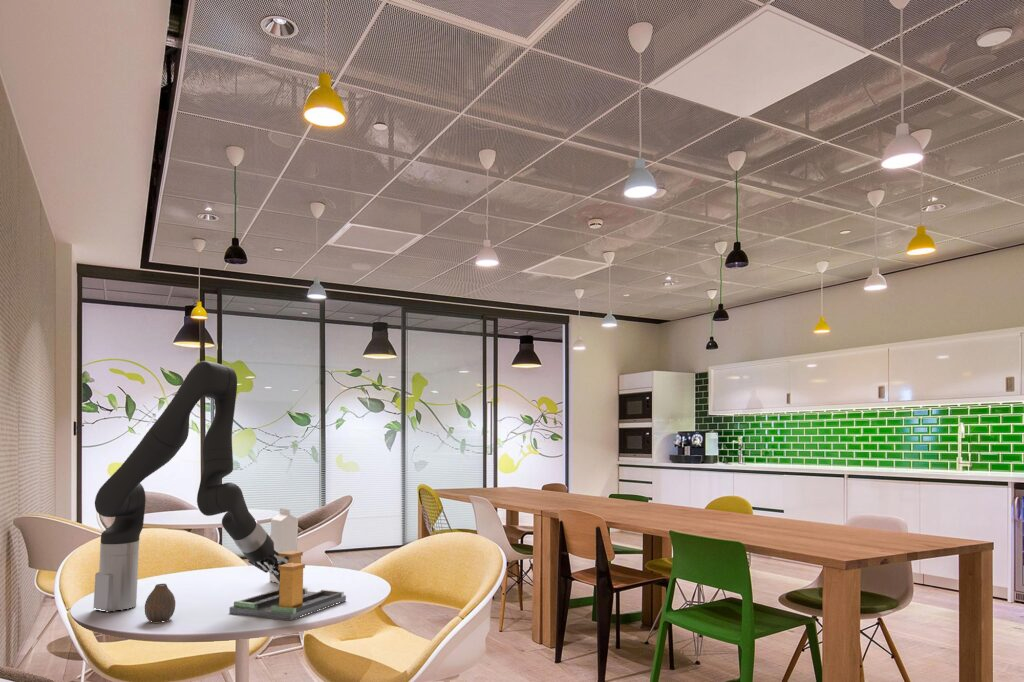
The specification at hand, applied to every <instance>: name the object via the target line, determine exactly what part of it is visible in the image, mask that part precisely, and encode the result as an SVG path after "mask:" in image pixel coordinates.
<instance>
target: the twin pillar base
mask: <svg viewBox="0 0 1024 682" xmlns="http://www.w3.org/2000/svg"><path fill="white" fill-rule="evenodd" d="M305 568H306V563H301V564H300V563H288V564H284V565H280V566H278V570H280V594H279V588H278V589H275V590H272V591H268V592H265V593H261V594H258V595H255V596H251V597H248V598H245V599H242V600H235V601H233V605H232V606H229V612H228V613H229V614H232V613H233V614H234V615H239V616H241V615H242V616H250V617H257V618H265V619H273V620H280V621H287V622H288V621H291V622H292V621H294V619H295V620H297V619H299V618H298V617H300V616H302V615H305V614H308V613H311V612H314V611H317V610H319V609H323V608H325V607H328V606H331V605H333V604H336V603H339V602H342V601H345V600H347V595H345V591H343V590H342V591H341V590H334V589H333V590H331V589H321V590H320V591H319V590H318V591H317V592H316V591H308V588H307V587H304V569H305ZM345 602H346V601H345ZM342 603H343V602H342ZM339 604H340V603H339ZM336 605H337V604H336ZM331 607H332V606H331ZM328 608H329V607H328ZM325 609H326V608H325ZM323 610H324V609H323ZM317 612H318V611H317ZM314 613H315V612H314ZM311 614H312V613H311ZM296 618H297V619H296ZM300 618H301V617H300Z"/></svg>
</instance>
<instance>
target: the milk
mask: <svg viewBox="0 0 1024 682" xmlns="http://www.w3.org/2000/svg"><path fill="white" fill-rule="evenodd" d="M298 535H299V518H297V517H296V516H294V515H292V514H291V509H288V508H283V507H279V513H277V515H275V516H274V517H272V518H271V521H270V538H271V539H272V540H273V542H274V550H275V551H276V552H278V553H282V552H287V551H298V539H299V537H298ZM270 581H272V582H271V583H274V582H276V583H275V584H278V583H279V581H278V580H277V578H276V577H275V576H274V575H272V574H270V573H269V582H270Z"/></svg>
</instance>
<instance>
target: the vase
mask: <svg viewBox="0 0 1024 682" xmlns="http://www.w3.org/2000/svg"><path fill="white" fill-rule="evenodd" d="M175 609H176V597H175V595H174V593H173V592H172V591H171V590H170V588H169V587H168V585H167V583H158V584H155V586H154V588H153V589H152V591H151V592H150V593H149V594H148V596H147V598H146V600H145V603H144V614H145V617H146V619H147V620H148V622H150V621H152V622H161V623H163V622H162V621H165V622H167V620H168V621H169V620H170V619H171V617H172V616H173V615H174V613H175ZM152 622H151V623H152Z"/></svg>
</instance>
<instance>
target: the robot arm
mask: <svg viewBox="0 0 1024 682" xmlns="http://www.w3.org/2000/svg"><path fill="white" fill-rule="evenodd" d="M237 390H238V376H237V373H236V371H235V370H234V369H233V368H232V367H230V366H228V365H224V364H221V363H217V362H214V361H210V360H201V361H199V362H198V363H196V364H195V365H194V366H193V367H192V368H191V370H190V371H189V372H188V374H187V375H186V377H185V378H184V380H183V381H182V383H181V385H180V386H179V388H178V390H177V392H176V393H175V395H174V396H173V397H172V399H171V400H170V402H169V403H168V405H167V406H166V408H165V409H164V410H163V411H162V414H161V415H160V416H159V417H158V418H157V420H156V421H155V422H153V424H152V425H151V427H150V428H149V430H148V431H147V432H146V433H145V434H144V436H143V437H142V438H141V440H140V442H139V443H138V444H137V446H135V448H134V450H133V451H132V452H131V453H130V454H129V455H128V457H127V458H126V460H125V461H123V463H122V464H121V465H120V466H119V468H118V469H116V470H115V472H113V474H112V475H111V476H110V477H109V478H108V479H107V480H106V481H105V482H104V484H102V486H100V488H99V489H98V491H97V493H96V496H95V499H94V507H95V510H96V512H97V513H98V515H100V516H102V517H104V518H114V521H113V523H112V524H111V525H110V526H109V527H107V528H106V529H104V531H102V532H101V534H100V545H99V546H100V547H99V549H100V551H99V564H98V565H99V566H98V567H99V568H98V571H97V572H96V573H95V575H94V577H95V578H94V590H93V591H94V593H93V609H94V608H96V609H101V610H105V611H113V612H115V611H114V610H121V611H124V610H123V609H127V610H130V609H129V608H131V609H133V608H136V606H137V600H138V598H137V597H138V576H139V573H138V572H139V549H140V536H141V533H142V530H143V528H144V520H145V519H144V518H145V510H146V501H147V500H146V499H147V498H146V491H145V488H144V486H143V484H142V483H141V482H143V481H144V480H145V479H146V478H148V477H150V475H152V474H154V473H155V472H157V471H158V470H160V469H161V468H162V467H165V465H166V464H168V463H169V462H170V461H172V459H173V458H174V457H175V456H176V455H177V453H178V452H179V451H180V450H181V448H182V447H183V446H184V444H185V443H186V441H187V439H188V437H189V434H190V433H189V432H190V431H189V430H190V416H191V413H192V411H193V410H194V408H195V407H196V405H197V403H198V402H199V401H200V400H201V399H202V398H203V397H205V398H209V399H212V400H213V401H214V407H215V408H214V411H215V413H214V417H213V420H212V422H211V424H210V427H209V428H208V430H207V432H206V434H205V436H204V439H203V444H202V465H203V471H202V473H201V474H202V475H201V477H200V478H201V479H200V482H199V487H198V490H197V495H196V496H197V497H196V503H197V504H196V505H197V508H198V510H199V511H200V513H201V514H203V515H204V516H207V517H210V516H211V517H212V516H215V515H216V516H217V515H221V514H223V513H224V515H223V517H222V518H221V525H222V528H223V529H224V530H225V531H226V533H227V534H228V535H229V537H230V538H231V539H232V540H233V542H234V543H235V545H236V547H238V549H239V551H240V552H241V553H242V554H243V555H244V556H245V558H246V559H247V560H248V563H249V564H250V565H252V566H253V567H256V568H257V569H259V571H260V570H261V571H262V572H263V573H266V574H267V573H269V575H270V574H272V575H274V576H275V577H276V578H277V580H278V581H279V582H280V570H278V566H280V565H284V564H288V561H289V557H287V556H285V557H283V558H282V557H280V556H279V553H278V552H276V551H275V550H274V542H273V540H272V539H271V535H269V533H268V532H267V531H266V530H265V529H264V527H263V526H262V525H261V524H260V523H259V521H257V520H256V519H255V517H254V516H253V514H251V512H250V511H249V508H248V506H247V504H246V500H245V497H244V494H243V491H242V489H241V488H240V487H239V486H238V485H237V484H236V483H233V482H224V483H221V480H222V479H223V478H225V477H227V476H228V475H230V474H232V472H233V470H234V458H233V457H234V455H233V426H234V418H235V417H234V416H235V410H236V401H237V400H236V399H237V393H238V391H237ZM220 483H221V484H220ZM132 607H133V608H132Z"/></svg>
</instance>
